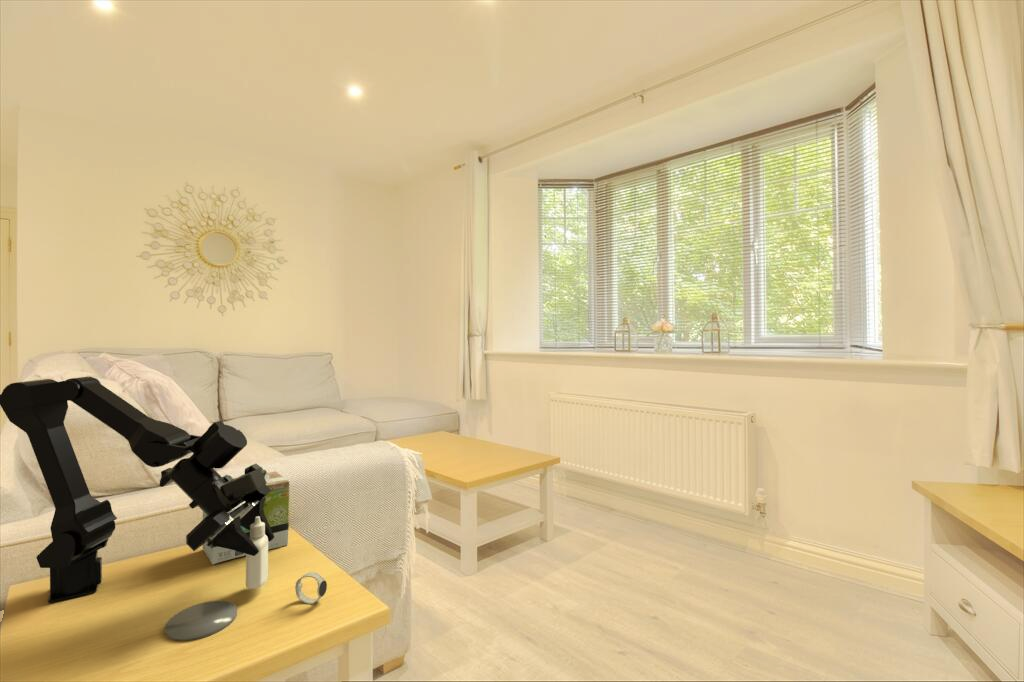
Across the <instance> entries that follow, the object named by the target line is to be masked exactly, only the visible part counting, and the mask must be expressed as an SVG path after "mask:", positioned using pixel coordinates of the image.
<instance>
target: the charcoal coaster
mask: <svg viewBox="0 0 1024 682" xmlns="http://www.w3.org/2000/svg"><path fill="white" fill-rule="evenodd" d="M237 616H238V607H237V605H236V604H234V602H230V601H226V600H212V601H206V602H205V601H204V602H201V603H196V604H195V605H191V606H189V607H186V608H184V609H182V610H180V611H178V612H177V613H175V614H174V615H173V616H172V617H170V618H169V619H168V620H167V622H166V624H165V626H164V634H165V637H167V638H168V639H170V640H172V641H180V642H183V641H184V642H186V641H187V642H188V641H195V640H200V639H202V638H205V637H209V636H211V635H214V634H216V633H218V632H220V631H222V630H224V629H226V628H227V627H228V626H230V625H231V624H232V623H233V622H234V621H235V619H236V618H237Z"/></svg>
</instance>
